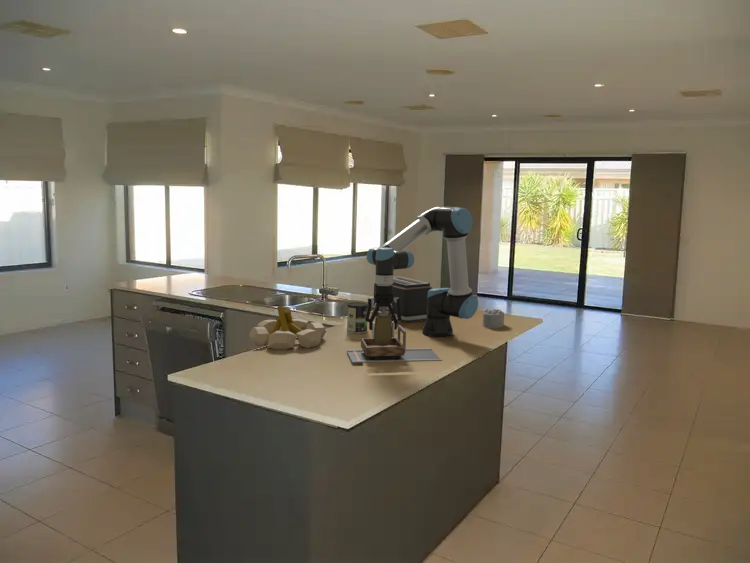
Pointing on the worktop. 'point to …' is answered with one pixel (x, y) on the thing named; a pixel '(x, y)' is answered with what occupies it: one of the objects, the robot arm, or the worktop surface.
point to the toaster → (410, 298)
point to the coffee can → (356, 318)
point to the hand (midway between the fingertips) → (382, 337)
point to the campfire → (287, 331)
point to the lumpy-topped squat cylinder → (493, 318)
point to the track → (409, 355)
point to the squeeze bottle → (383, 328)
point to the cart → (390, 350)
